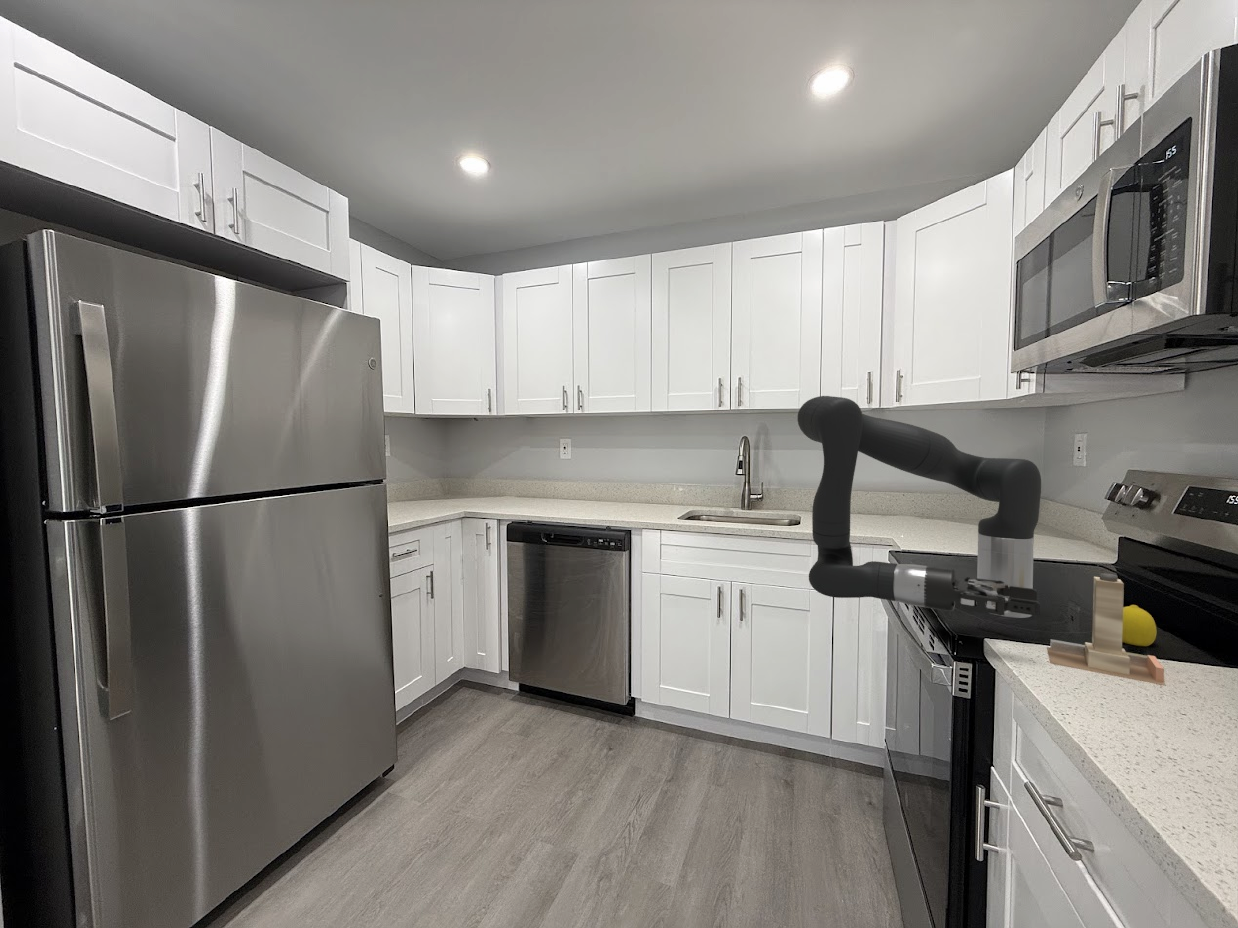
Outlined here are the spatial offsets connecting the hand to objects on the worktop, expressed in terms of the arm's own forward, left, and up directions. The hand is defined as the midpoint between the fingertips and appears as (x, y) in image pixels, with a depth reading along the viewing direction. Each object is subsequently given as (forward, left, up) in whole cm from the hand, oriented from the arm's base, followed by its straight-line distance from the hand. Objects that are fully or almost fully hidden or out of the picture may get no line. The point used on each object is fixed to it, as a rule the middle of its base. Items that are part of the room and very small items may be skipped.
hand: (1038, 602), depth 84 cm
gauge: (0, +8, -8) cm, 12 cm away
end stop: (0, +14, -8) cm, 16 cm away
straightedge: (-3, +8, -8) cm, 12 cm away
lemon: (-16, +14, -10) cm, 23 cm away
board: (0, +8, -10) cm, 13 cm away
